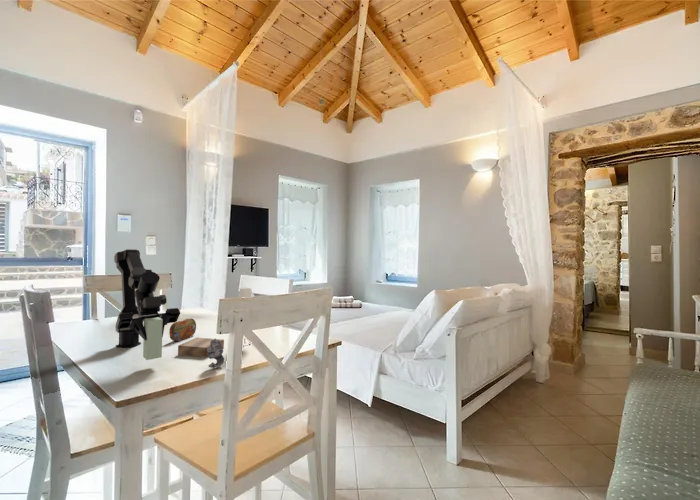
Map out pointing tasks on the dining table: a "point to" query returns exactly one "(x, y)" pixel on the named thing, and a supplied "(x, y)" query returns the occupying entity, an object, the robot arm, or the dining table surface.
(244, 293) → the champagne flute
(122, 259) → the robot arm
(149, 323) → the sage block
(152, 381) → the dining table surface
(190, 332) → the tin
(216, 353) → the grey lumpy figurine
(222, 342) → the walnut block
